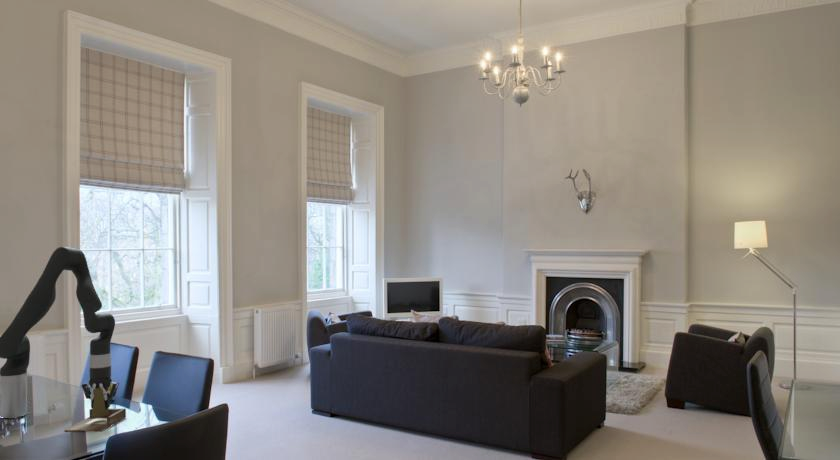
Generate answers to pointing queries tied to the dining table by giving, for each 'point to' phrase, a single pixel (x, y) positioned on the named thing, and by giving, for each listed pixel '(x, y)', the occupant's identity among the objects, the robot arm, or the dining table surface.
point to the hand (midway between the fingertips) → (100, 408)
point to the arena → (98, 421)
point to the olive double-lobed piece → (99, 403)
